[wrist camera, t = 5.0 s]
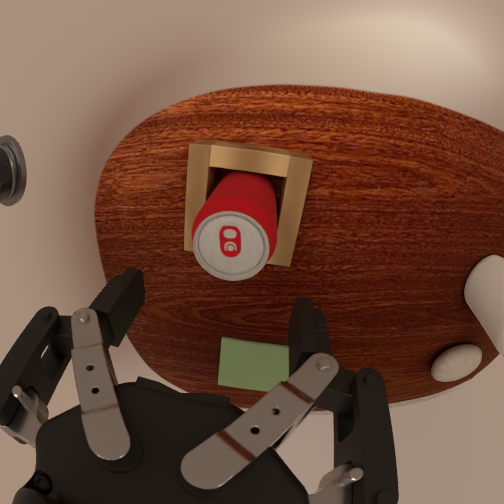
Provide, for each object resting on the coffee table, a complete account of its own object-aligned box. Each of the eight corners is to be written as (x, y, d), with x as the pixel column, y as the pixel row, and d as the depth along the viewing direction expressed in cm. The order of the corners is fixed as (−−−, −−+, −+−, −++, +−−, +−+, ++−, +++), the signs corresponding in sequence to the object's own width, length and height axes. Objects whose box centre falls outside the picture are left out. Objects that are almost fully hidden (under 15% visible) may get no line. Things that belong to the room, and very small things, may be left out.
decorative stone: (483, 337, 37) (493, 355, 33) (459, 367, 42) (467, 384, 37) (445, 335, 37) (456, 355, 33) (419, 368, 41) (427, 388, 37)
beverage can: (219, 221, 31) (190, 284, 20) (216, 167, 28) (179, 204, 17) (275, 223, 30) (275, 288, 20) (277, 167, 27) (279, 205, 17)
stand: (193, 234, 32) (183, 250, 28) (200, 138, 26) (189, 143, 23) (288, 248, 31) (289, 267, 28) (307, 153, 26) (313, 160, 23)
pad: (218, 382, 46) (217, 384, 45) (222, 336, 39) (221, 338, 39) (304, 393, 46) (304, 394, 45) (326, 349, 39) (326, 351, 39)
